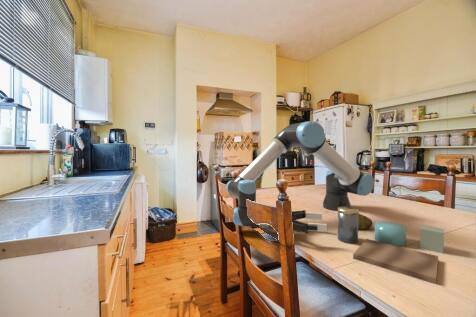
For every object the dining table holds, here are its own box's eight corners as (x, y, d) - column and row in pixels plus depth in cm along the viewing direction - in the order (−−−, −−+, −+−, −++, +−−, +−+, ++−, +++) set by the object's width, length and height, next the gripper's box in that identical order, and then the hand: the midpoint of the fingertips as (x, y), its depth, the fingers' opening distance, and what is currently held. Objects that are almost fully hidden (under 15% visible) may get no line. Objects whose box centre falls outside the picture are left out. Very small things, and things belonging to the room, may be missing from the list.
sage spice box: (419, 248, 79) (420, 228, 78) (421, 243, 82) (421, 225, 82) (442, 253, 74) (443, 233, 74) (443, 248, 78) (443, 228, 78)
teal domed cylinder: (371, 241, 85) (371, 225, 85) (377, 233, 92) (378, 219, 92) (403, 249, 78) (404, 232, 78) (407, 240, 85) (408, 224, 85)
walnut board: (353, 258, 72) (353, 253, 72) (366, 242, 83) (366, 238, 83) (435, 284, 58) (435, 278, 58) (438, 260, 70) (438, 256, 70)
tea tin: (334, 240, 86) (335, 209, 85) (341, 234, 91) (341, 205, 91) (354, 245, 81) (355, 212, 80) (360, 239, 86) (361, 208, 86)
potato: (370, 233, 92) (370, 214, 92) (337, 227, 100) (337, 209, 99) (372, 227, 99) (373, 209, 98) (341, 222, 106) (341, 205, 106)
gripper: (272, 218, 105) (320, 220, 100) (266, 239, 81) (329, 244, 76) (272, 202, 105) (320, 204, 100) (266, 219, 81) (329, 223, 76)
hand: (324, 221), depth 88 cm, fingers open, 13 cm apart
